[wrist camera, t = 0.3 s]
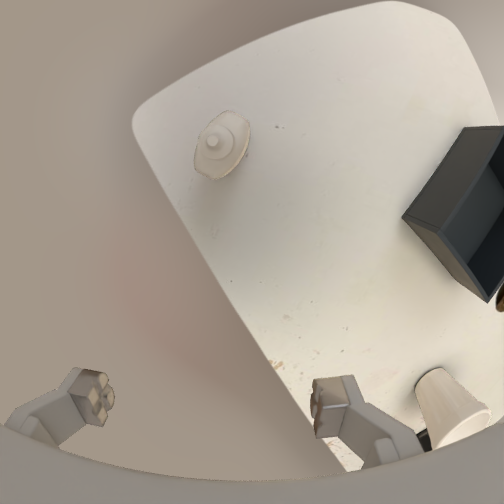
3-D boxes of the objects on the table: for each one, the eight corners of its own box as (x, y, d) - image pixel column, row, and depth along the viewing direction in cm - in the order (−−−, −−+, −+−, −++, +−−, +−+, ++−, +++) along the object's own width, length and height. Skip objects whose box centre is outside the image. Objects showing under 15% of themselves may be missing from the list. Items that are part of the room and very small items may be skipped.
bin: (464, 127, 27) (503, 125, 20) (509, 197, 29) (545, 208, 22) (401, 217, 31) (436, 233, 23) (455, 279, 33) (487, 304, 26)
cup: (411, 411, 41) (438, 465, 28) (397, 382, 38) (429, 443, 26) (457, 379, 39) (492, 427, 26) (449, 346, 36) (492, 398, 24)
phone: (448, 420, 41) (452, 446, 45) (446, 416, 42) (450, 443, 46) (414, 440, 42) (423, 463, 46) (412, 437, 43) (421, 460, 47)
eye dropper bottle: (263, 151, 29) (270, 145, 17) (216, 180, 30) (193, 194, 18) (240, 116, 28) (232, 88, 16) (193, 146, 29) (157, 138, 17)
